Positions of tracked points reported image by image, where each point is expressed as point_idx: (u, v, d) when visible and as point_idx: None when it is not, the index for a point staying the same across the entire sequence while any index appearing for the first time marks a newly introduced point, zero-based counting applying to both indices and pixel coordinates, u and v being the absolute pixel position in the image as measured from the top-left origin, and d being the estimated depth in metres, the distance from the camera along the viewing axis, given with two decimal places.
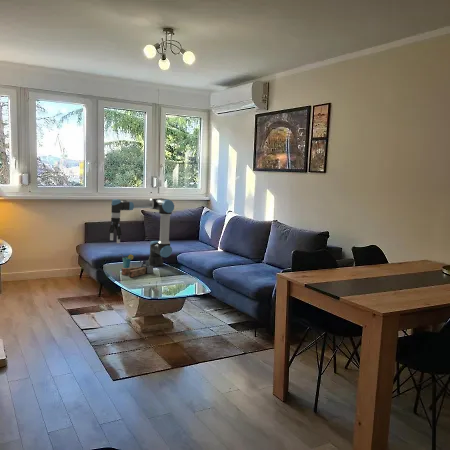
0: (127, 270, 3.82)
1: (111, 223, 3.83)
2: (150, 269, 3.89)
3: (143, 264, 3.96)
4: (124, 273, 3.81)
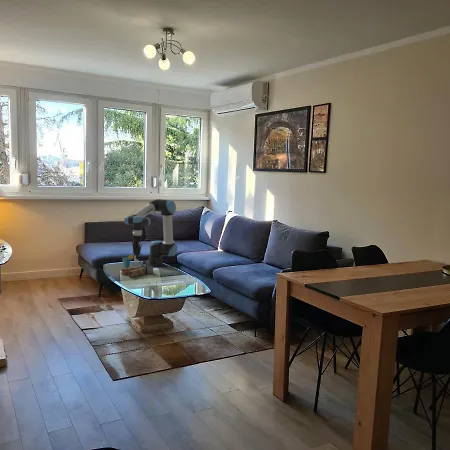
0: (127, 270, 3.82)
1: (132, 243, 3.69)
2: (150, 269, 3.89)
3: (143, 264, 3.96)
4: (124, 273, 3.81)
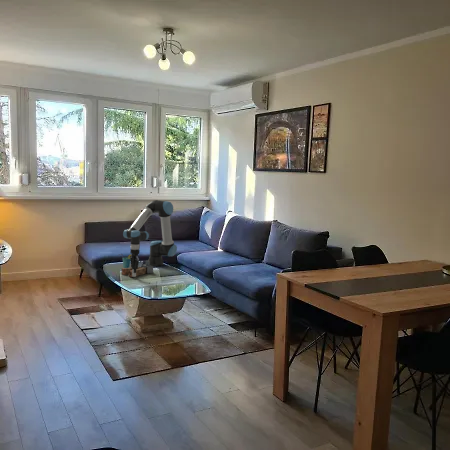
0: (127, 270, 3.82)
1: (130, 256, 3.74)
2: (150, 269, 3.89)
3: (143, 264, 3.96)
4: (124, 273, 3.81)
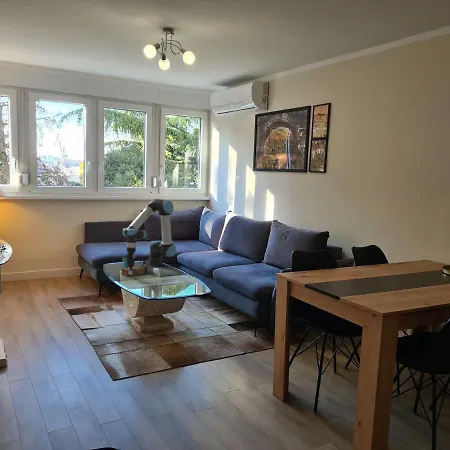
0: None
1: (127, 255, 3.78)
2: (150, 269, 3.89)
3: (143, 264, 3.96)
4: None
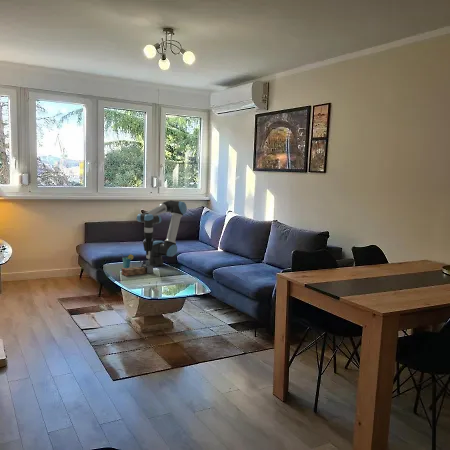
0: None
1: None
2: (150, 269, 3.89)
3: (143, 264, 3.96)
4: None
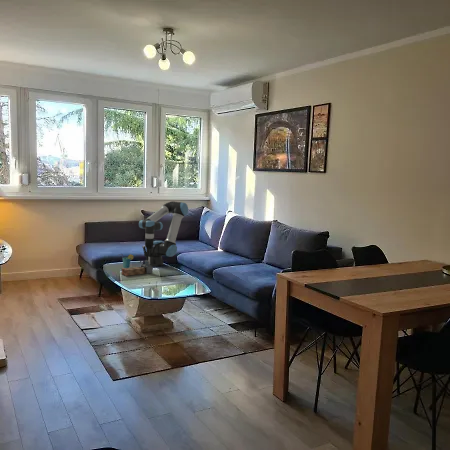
0: None
1: None
2: (149, 269, 3.89)
3: (143, 264, 3.95)
4: None
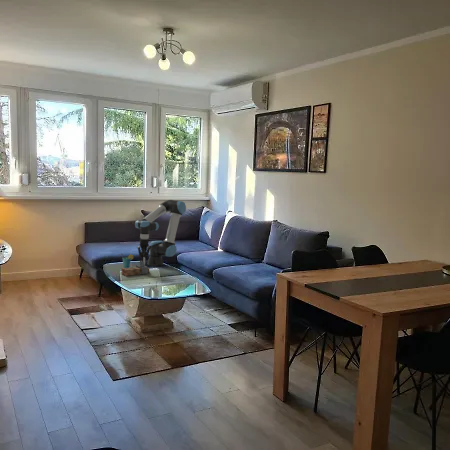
0: None
1: (148, 246, 3.92)
2: (144, 270, 3.86)
3: (137, 265, 3.92)
4: None
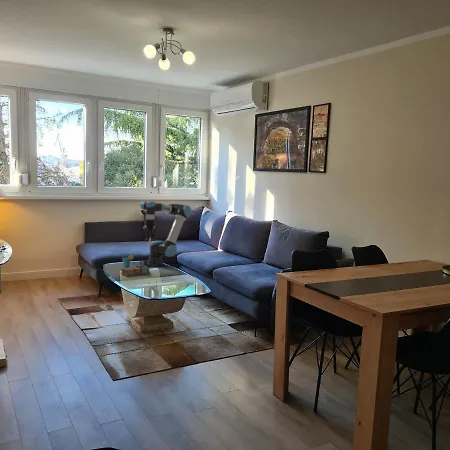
0: None
1: None
2: (144, 270, 3.86)
3: (137, 265, 3.92)
4: None
